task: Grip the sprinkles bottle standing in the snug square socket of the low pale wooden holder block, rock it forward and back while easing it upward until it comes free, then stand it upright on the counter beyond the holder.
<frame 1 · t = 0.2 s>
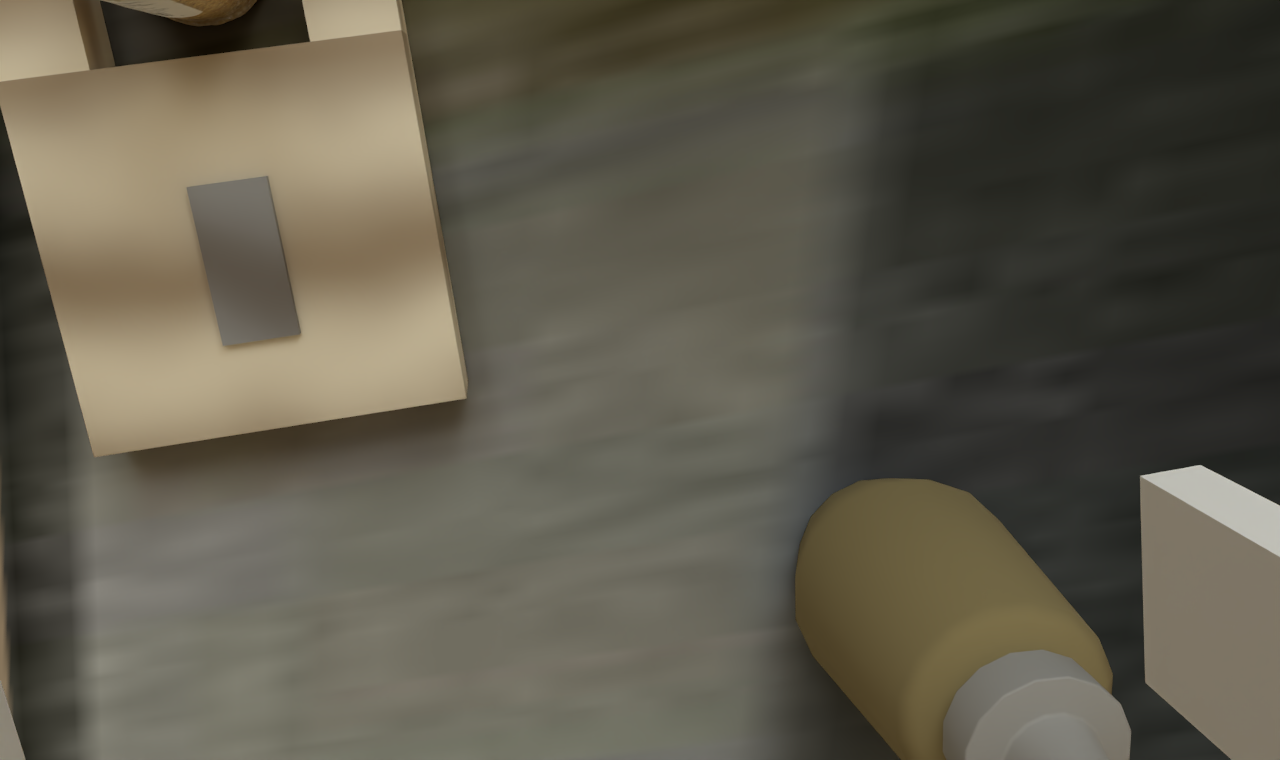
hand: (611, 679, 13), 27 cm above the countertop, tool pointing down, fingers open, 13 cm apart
squeeze bottle: (870, 546, 43), on the countertop
holder block: (225, 83, 36), on the countertop
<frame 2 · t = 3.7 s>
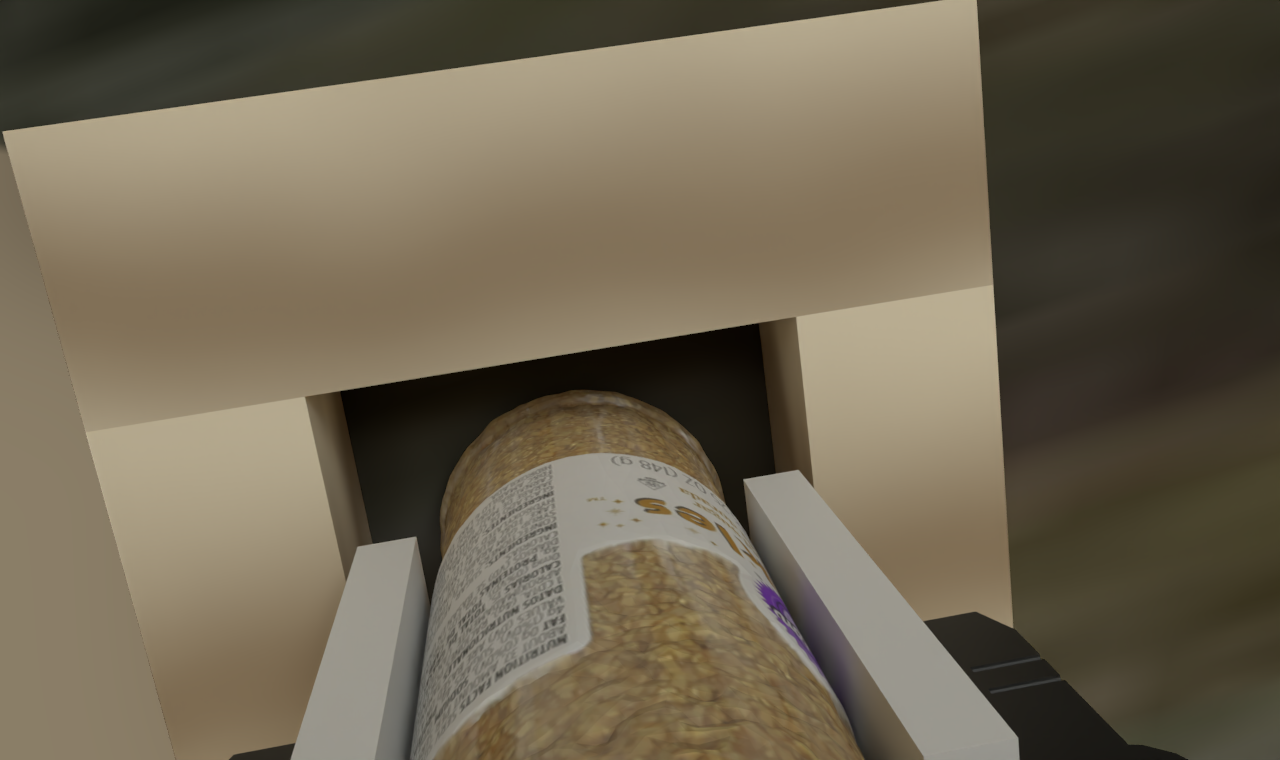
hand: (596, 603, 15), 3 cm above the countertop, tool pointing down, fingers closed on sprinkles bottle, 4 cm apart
holder block: (614, 737, 19), on the countertop
sprinkles bottle: (578, 513, 18), resting in holder block, touching gripper
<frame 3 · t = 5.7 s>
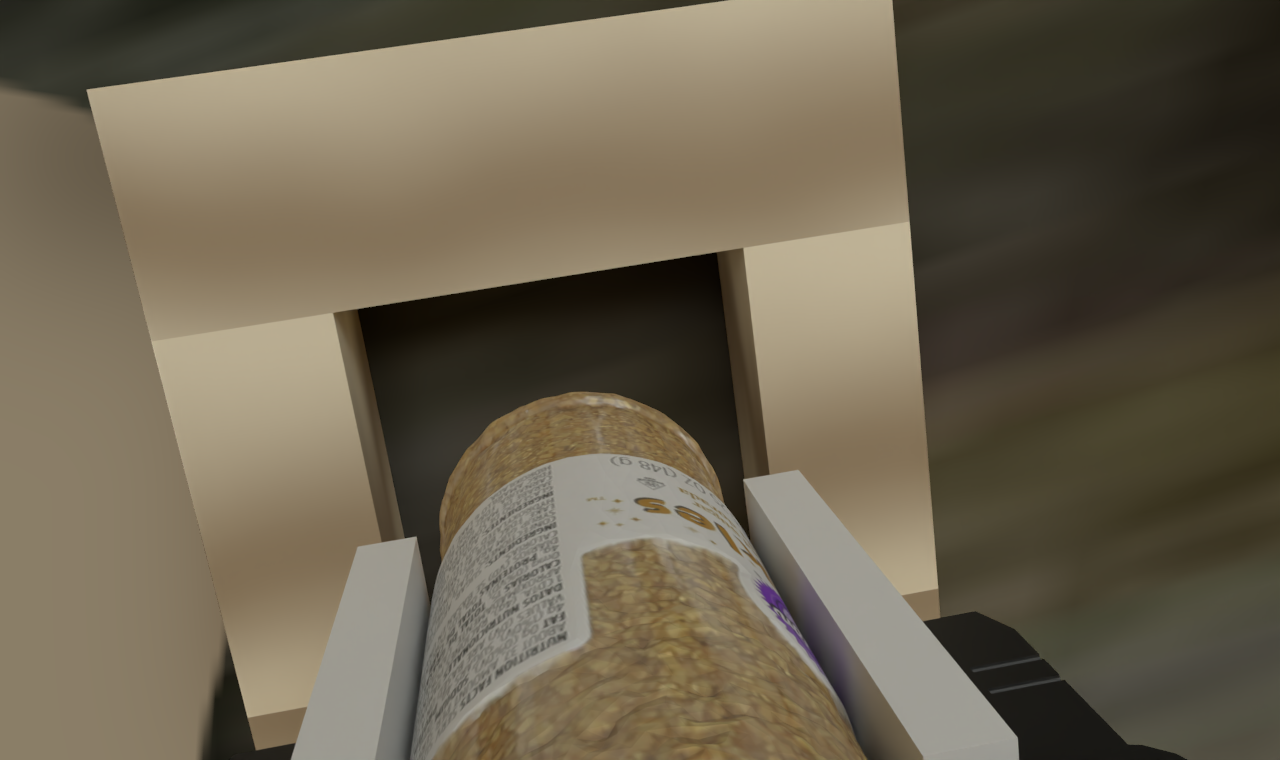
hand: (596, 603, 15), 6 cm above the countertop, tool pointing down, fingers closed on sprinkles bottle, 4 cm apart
holder block: (596, 625, 22), on the countertop
sprinkles bottle: (577, 515, 18), point 3 cm above the countertop, touching gripper
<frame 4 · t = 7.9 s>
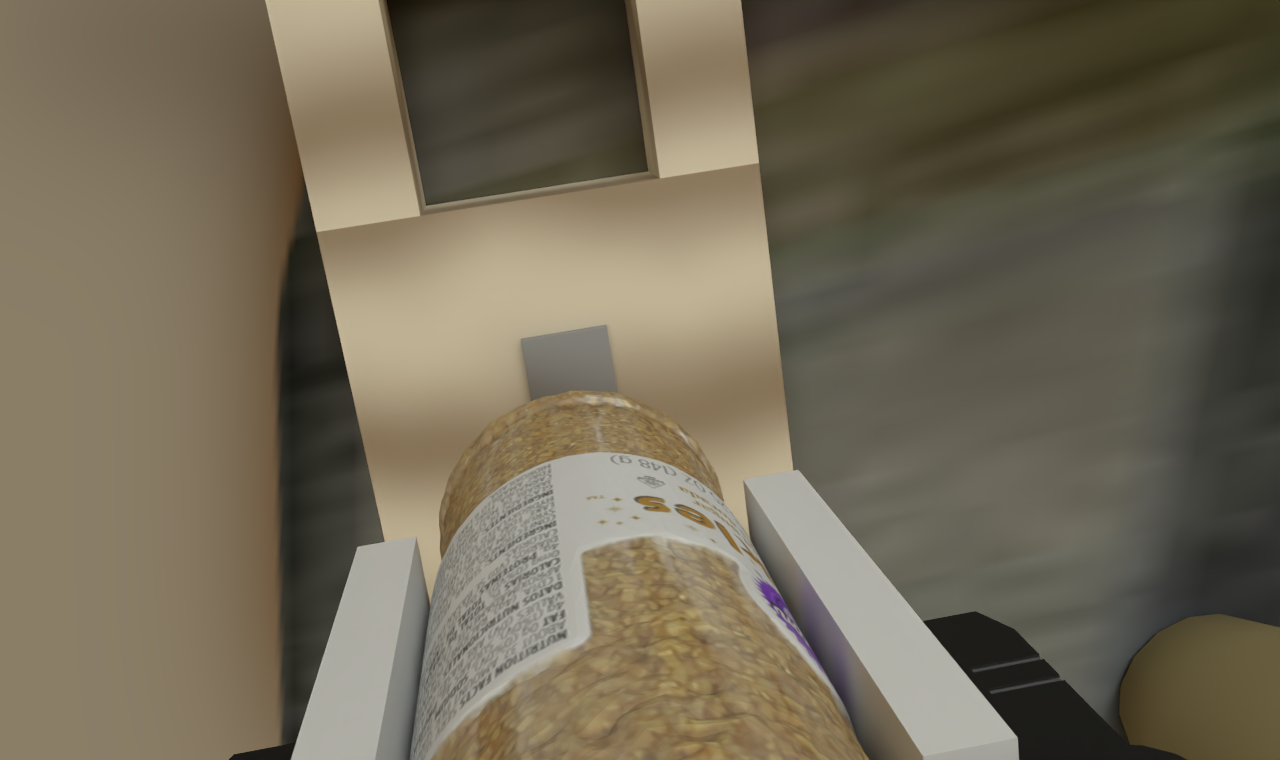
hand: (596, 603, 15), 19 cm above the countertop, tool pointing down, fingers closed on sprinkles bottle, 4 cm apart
squeeze bottle: (1190, 683, 40), on the countertop
holder block: (542, 214, 33), on the countertop
sprinkles bottle: (577, 514, 18), point 16 cm above the countertop, touching gripper
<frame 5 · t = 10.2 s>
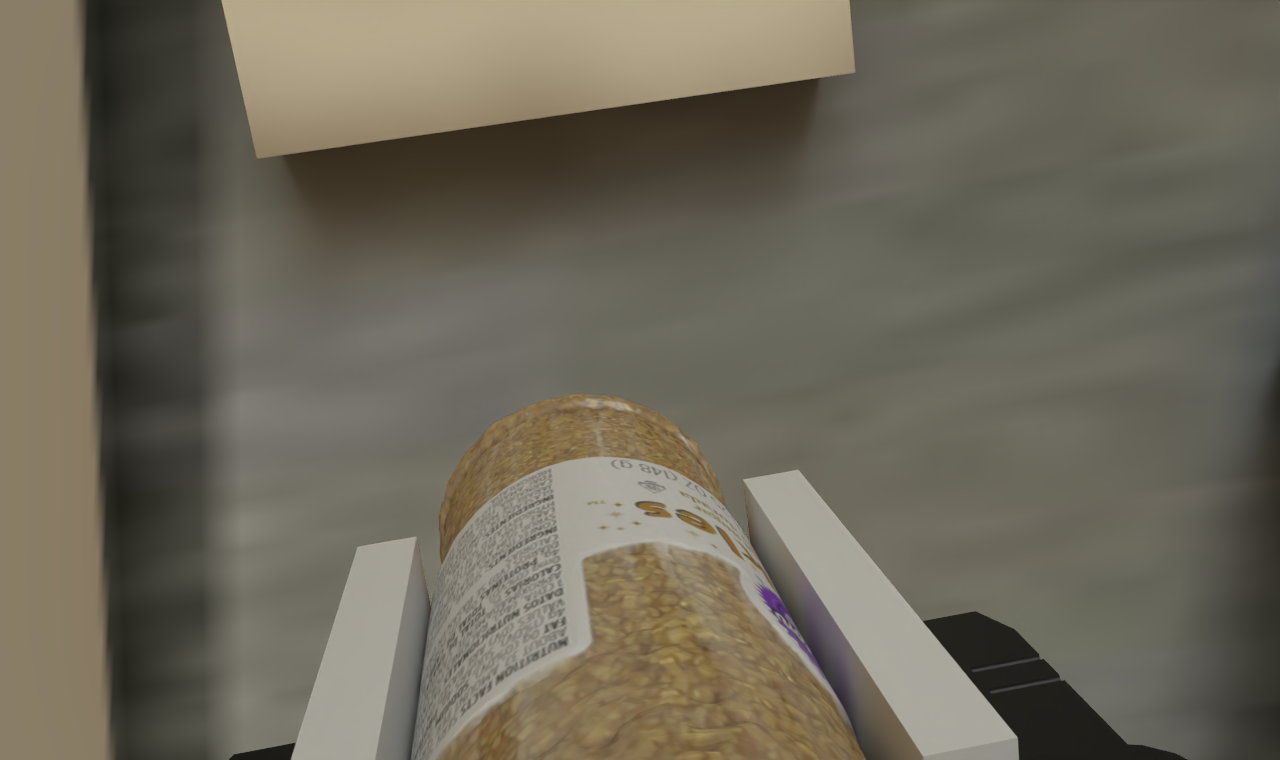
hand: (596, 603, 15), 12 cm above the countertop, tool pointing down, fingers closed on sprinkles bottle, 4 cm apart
sprinkles bottle: (577, 518, 18), point 8 cm above the countertop, touching gripper
when the fingers open (4 cm above the countertop, at t = 12.3 s): sprinkles bottle stays where it is, on the countertop.
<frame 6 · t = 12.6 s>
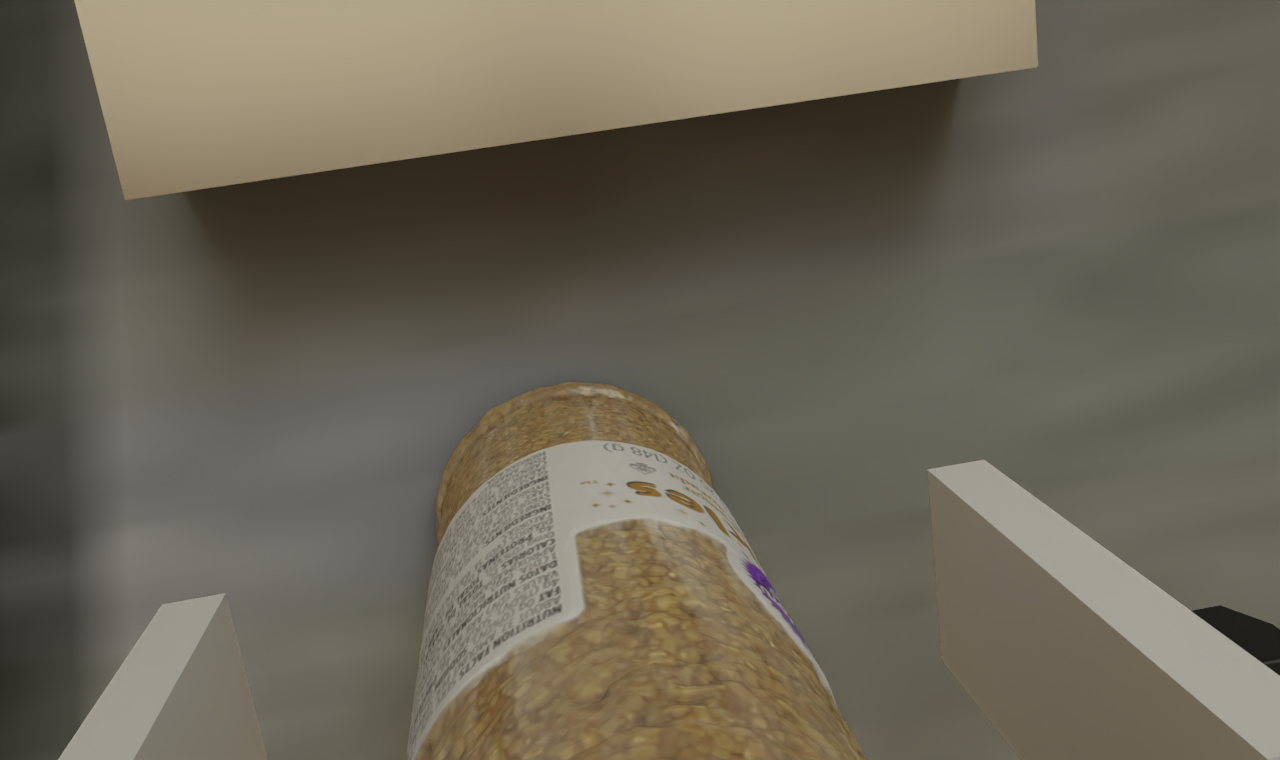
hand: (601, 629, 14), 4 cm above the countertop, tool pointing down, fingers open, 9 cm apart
sprinkles bottle: (570, 503, 19), on the countertop
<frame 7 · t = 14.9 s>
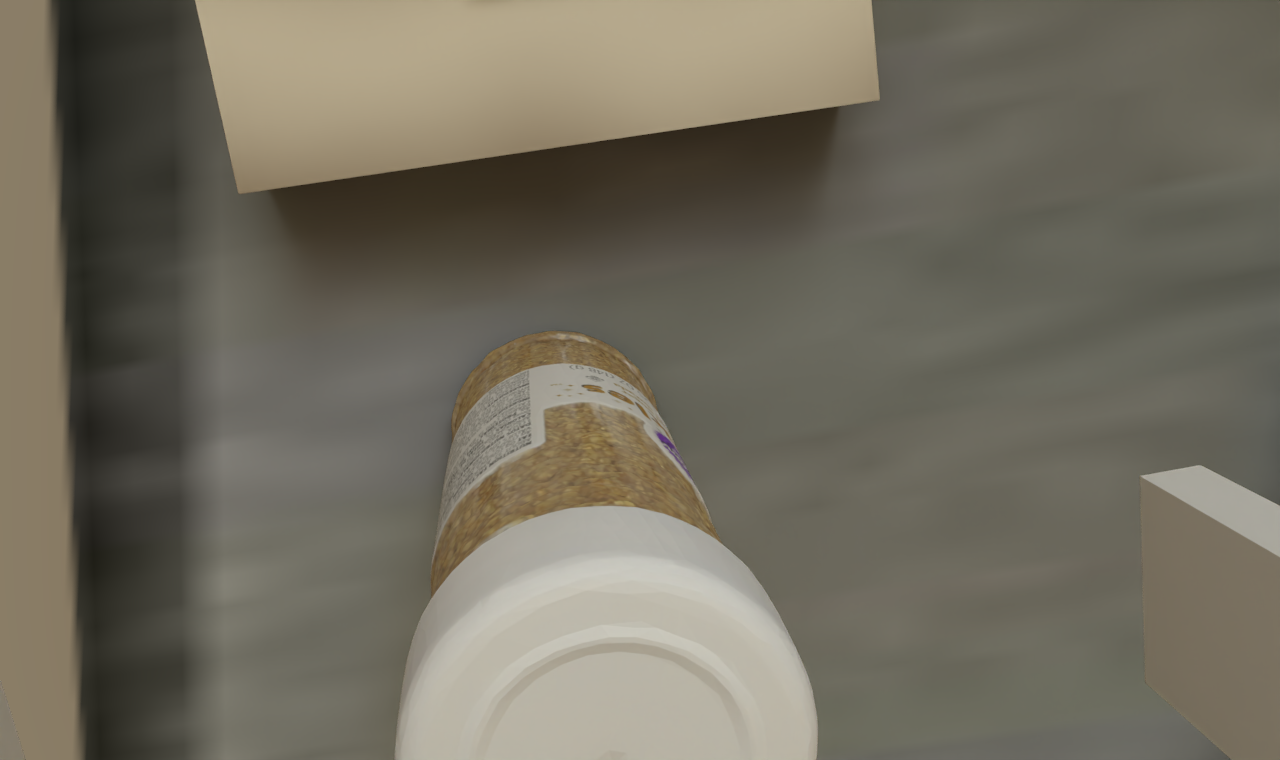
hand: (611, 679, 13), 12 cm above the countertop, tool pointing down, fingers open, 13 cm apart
sprinkles bottle: (552, 424, 25), on the countertop
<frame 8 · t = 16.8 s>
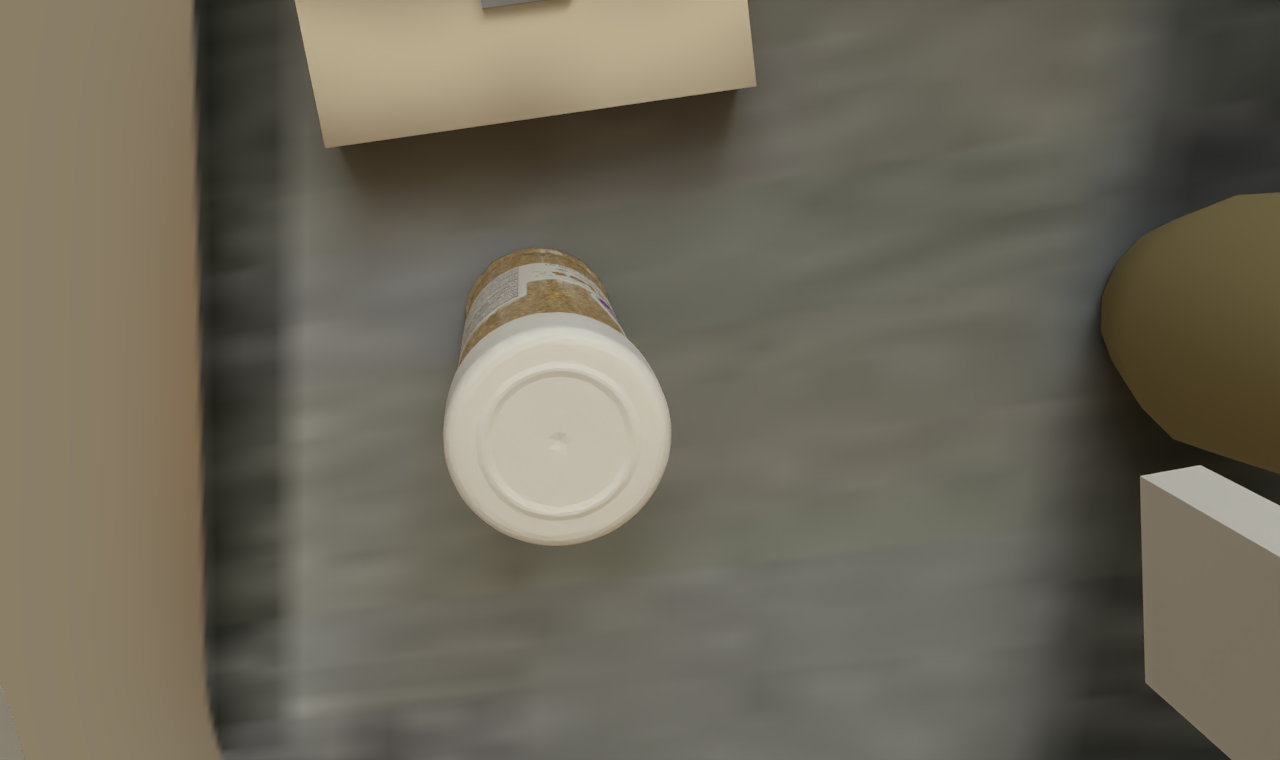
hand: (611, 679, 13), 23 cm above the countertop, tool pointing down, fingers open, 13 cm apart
squeeze bottle: (1176, 304, 38), on the countertop
sprinkles bottle: (536, 316, 35), on the countertop
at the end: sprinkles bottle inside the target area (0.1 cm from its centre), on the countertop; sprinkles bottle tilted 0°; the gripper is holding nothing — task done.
